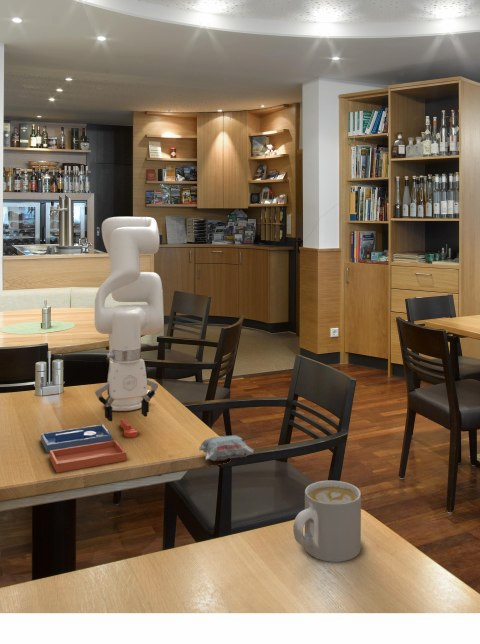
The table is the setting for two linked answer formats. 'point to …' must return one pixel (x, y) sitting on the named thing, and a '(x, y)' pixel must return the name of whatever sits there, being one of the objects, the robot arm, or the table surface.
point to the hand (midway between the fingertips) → (127, 417)
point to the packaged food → (225, 448)
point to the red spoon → (128, 428)
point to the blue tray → (50, 443)
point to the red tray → (87, 456)
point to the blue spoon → (74, 435)
